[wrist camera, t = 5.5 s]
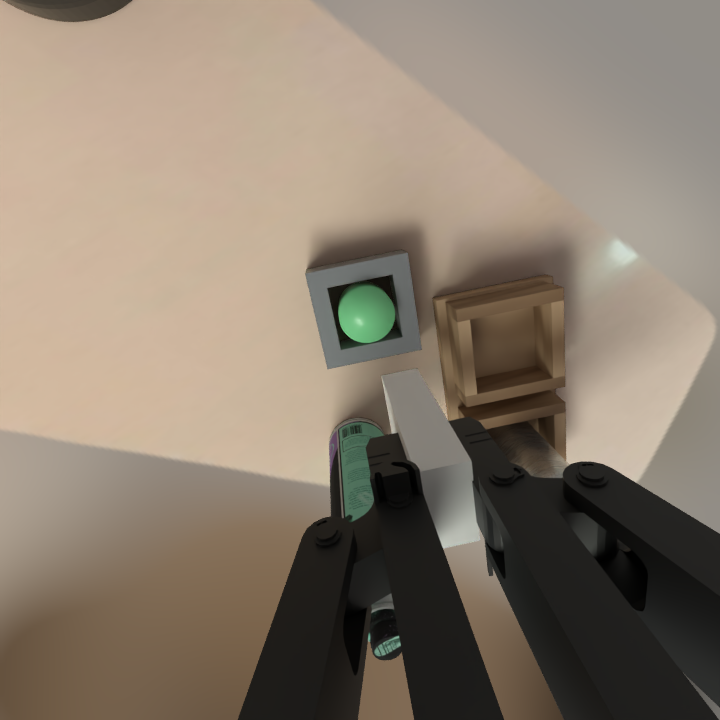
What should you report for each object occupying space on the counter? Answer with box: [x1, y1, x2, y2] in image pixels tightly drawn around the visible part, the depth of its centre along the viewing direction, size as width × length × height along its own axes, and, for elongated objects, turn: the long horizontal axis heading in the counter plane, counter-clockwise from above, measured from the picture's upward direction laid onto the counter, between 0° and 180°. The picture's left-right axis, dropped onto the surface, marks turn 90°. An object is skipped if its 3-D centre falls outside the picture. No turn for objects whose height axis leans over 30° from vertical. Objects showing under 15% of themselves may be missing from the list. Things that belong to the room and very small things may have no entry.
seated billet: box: [486, 421, 569, 478], centre depth 32 cm, size 5×5×16 cm
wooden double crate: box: [433, 275, 566, 461], centre depth 37 cm, size 19×10×4 cm, turn 11°
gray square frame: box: [305, 250, 422, 369], centre depth 34 cm, size 8×8×2 cm
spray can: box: [329, 418, 402, 660], centre depth 30 cm, size 6×6×20 cm
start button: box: [338, 281, 395, 343], centre depth 33 cm, size 4×4×3 cm
